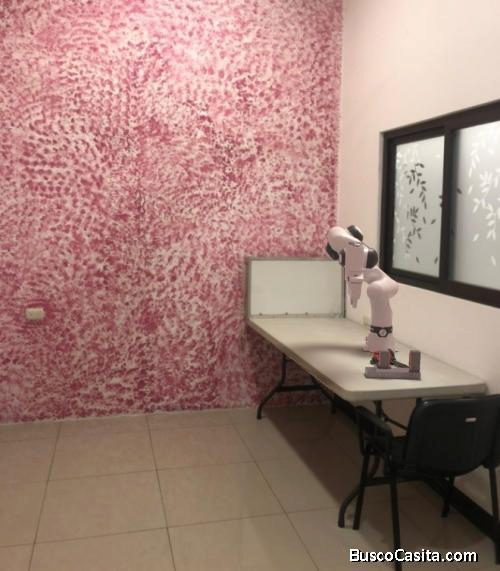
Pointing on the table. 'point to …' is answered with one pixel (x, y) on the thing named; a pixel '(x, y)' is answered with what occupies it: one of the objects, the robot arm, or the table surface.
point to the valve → (392, 359)
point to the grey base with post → (398, 369)
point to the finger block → (384, 359)
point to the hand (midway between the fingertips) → (353, 306)
